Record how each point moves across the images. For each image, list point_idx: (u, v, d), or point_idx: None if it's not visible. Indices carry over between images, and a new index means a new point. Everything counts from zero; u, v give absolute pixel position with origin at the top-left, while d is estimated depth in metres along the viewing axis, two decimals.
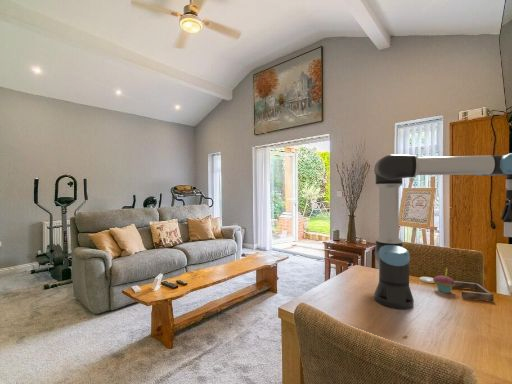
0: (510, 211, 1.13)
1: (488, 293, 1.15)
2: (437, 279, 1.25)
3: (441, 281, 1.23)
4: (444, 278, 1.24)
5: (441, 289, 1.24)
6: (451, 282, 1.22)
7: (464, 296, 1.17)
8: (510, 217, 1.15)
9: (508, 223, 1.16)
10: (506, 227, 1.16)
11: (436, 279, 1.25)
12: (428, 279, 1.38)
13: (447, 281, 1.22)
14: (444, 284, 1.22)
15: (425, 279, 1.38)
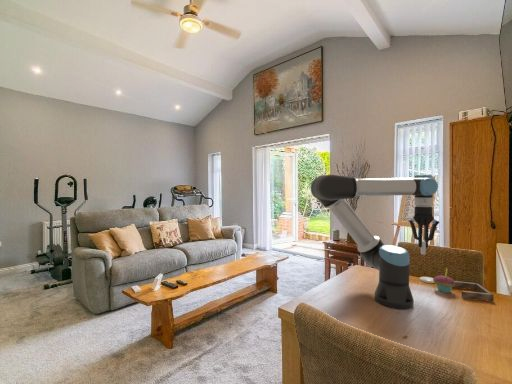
0: (424, 226, 1.29)
1: (488, 293, 1.15)
2: (437, 279, 1.25)
3: (441, 281, 1.23)
4: (444, 278, 1.24)
5: (441, 289, 1.24)
6: (451, 282, 1.22)
7: (464, 296, 1.17)
8: (424, 234, 1.28)
9: None
10: None
11: (436, 279, 1.25)
12: (428, 279, 1.38)
13: (447, 281, 1.22)
14: (444, 284, 1.22)
15: (425, 279, 1.38)
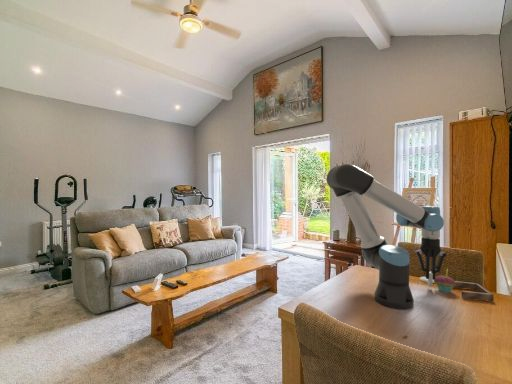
0: (431, 257, 1.28)
1: (488, 293, 1.15)
2: (438, 279, 1.25)
3: (441, 281, 1.23)
4: (445, 278, 1.24)
5: (442, 289, 1.24)
6: (452, 282, 1.22)
7: (464, 296, 1.17)
8: (431, 265, 1.27)
9: None
10: None
11: (437, 279, 1.25)
12: None
13: (448, 281, 1.22)
14: (445, 284, 1.22)
15: (425, 279, 1.38)
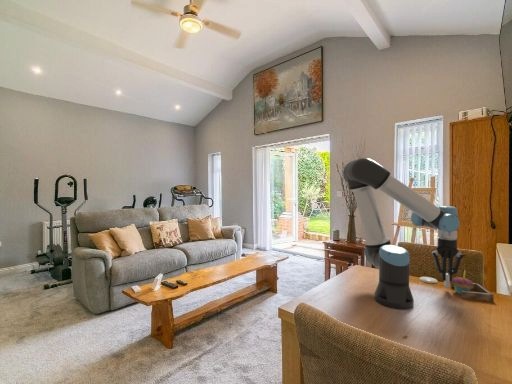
0: (447, 258, 1.26)
1: (488, 293, 1.15)
2: (455, 281, 1.23)
3: (459, 283, 1.21)
4: (462, 280, 1.21)
5: (459, 291, 1.22)
6: (469, 284, 1.19)
7: (464, 296, 1.17)
8: (448, 267, 1.25)
9: None
10: None
11: (454, 281, 1.23)
12: (428, 279, 1.38)
13: (465, 283, 1.20)
14: (462, 286, 1.20)
15: (425, 279, 1.38)
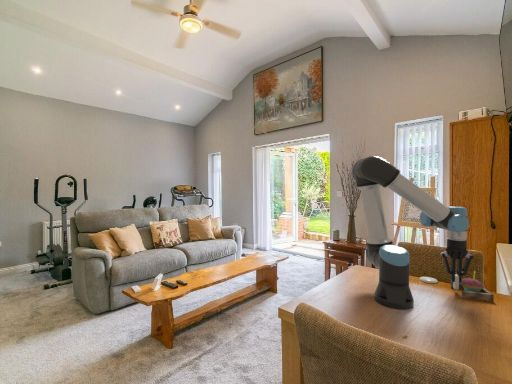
0: (457, 259, 1.24)
1: (488, 293, 1.15)
2: (464, 282, 1.21)
3: (468, 284, 1.20)
4: (472, 281, 1.20)
5: None
6: (479, 285, 1.18)
7: (464, 296, 1.17)
8: (458, 268, 1.23)
9: None
10: None
11: (463, 282, 1.22)
12: (428, 279, 1.38)
13: (475, 284, 1.18)
14: (472, 287, 1.18)
15: (425, 279, 1.38)
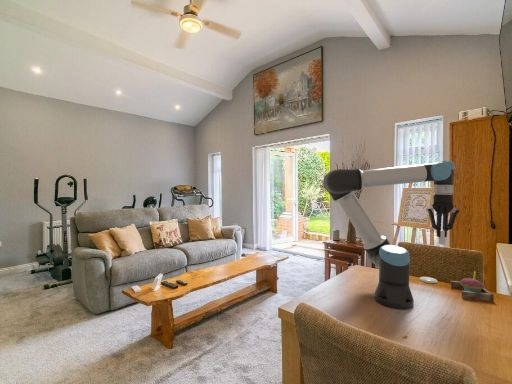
0: (443, 215, 1.23)
1: (488, 293, 1.15)
2: (465, 282, 1.21)
3: (469, 284, 1.20)
4: (472, 281, 1.20)
5: None
6: (480, 285, 1.18)
7: (464, 296, 1.17)
8: (443, 223, 1.23)
9: None
10: None
11: (463, 282, 1.22)
12: (428, 279, 1.38)
13: (475, 284, 1.18)
14: (472, 287, 1.18)
15: (425, 279, 1.38)
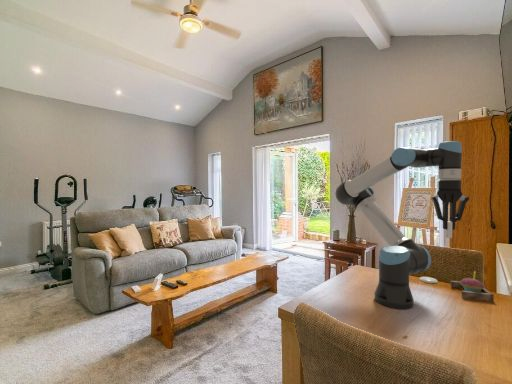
0: (450, 204, 1.07)
1: (488, 293, 1.15)
2: (465, 282, 1.21)
3: (469, 284, 1.20)
4: (472, 281, 1.20)
5: None
6: (480, 285, 1.18)
7: (464, 296, 1.17)
8: (451, 213, 1.06)
9: None
10: None
11: (463, 282, 1.22)
12: (428, 279, 1.38)
13: (475, 284, 1.18)
14: (472, 287, 1.18)
15: (425, 279, 1.38)
